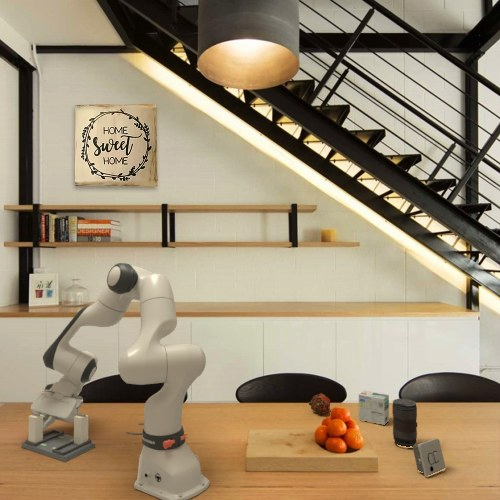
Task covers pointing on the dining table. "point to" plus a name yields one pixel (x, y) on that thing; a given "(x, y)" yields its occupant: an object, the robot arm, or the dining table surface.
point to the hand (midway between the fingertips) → (41, 428)
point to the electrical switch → (429, 456)
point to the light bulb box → (374, 407)
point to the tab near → (80, 428)
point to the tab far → (35, 428)
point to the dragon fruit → (320, 404)
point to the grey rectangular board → (58, 446)
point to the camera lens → (404, 422)
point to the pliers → (136, 433)
